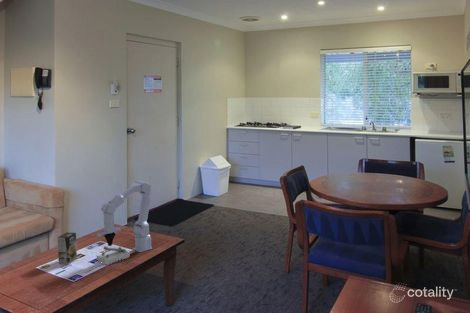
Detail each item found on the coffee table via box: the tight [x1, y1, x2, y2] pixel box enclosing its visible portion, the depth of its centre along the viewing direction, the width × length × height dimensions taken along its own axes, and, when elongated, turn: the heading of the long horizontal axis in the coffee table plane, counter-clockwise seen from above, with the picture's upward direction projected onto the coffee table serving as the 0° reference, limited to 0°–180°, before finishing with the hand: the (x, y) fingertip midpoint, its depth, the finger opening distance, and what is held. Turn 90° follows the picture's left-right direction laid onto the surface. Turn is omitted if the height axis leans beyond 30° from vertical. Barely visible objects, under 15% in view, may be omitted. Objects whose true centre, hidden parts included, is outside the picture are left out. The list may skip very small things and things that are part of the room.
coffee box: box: [57, 232, 78, 265], centre depth 231 cm, size 9×6×16 cm
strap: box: [103, 246, 124, 251], centre depth 236 cm, size 12×3×2 cm, turn 140°
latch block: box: [96, 247, 131, 265], centre depth 236 cm, size 16×10×5 cm, turn 138°
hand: (109, 245), depth 233 cm, fingers closed
